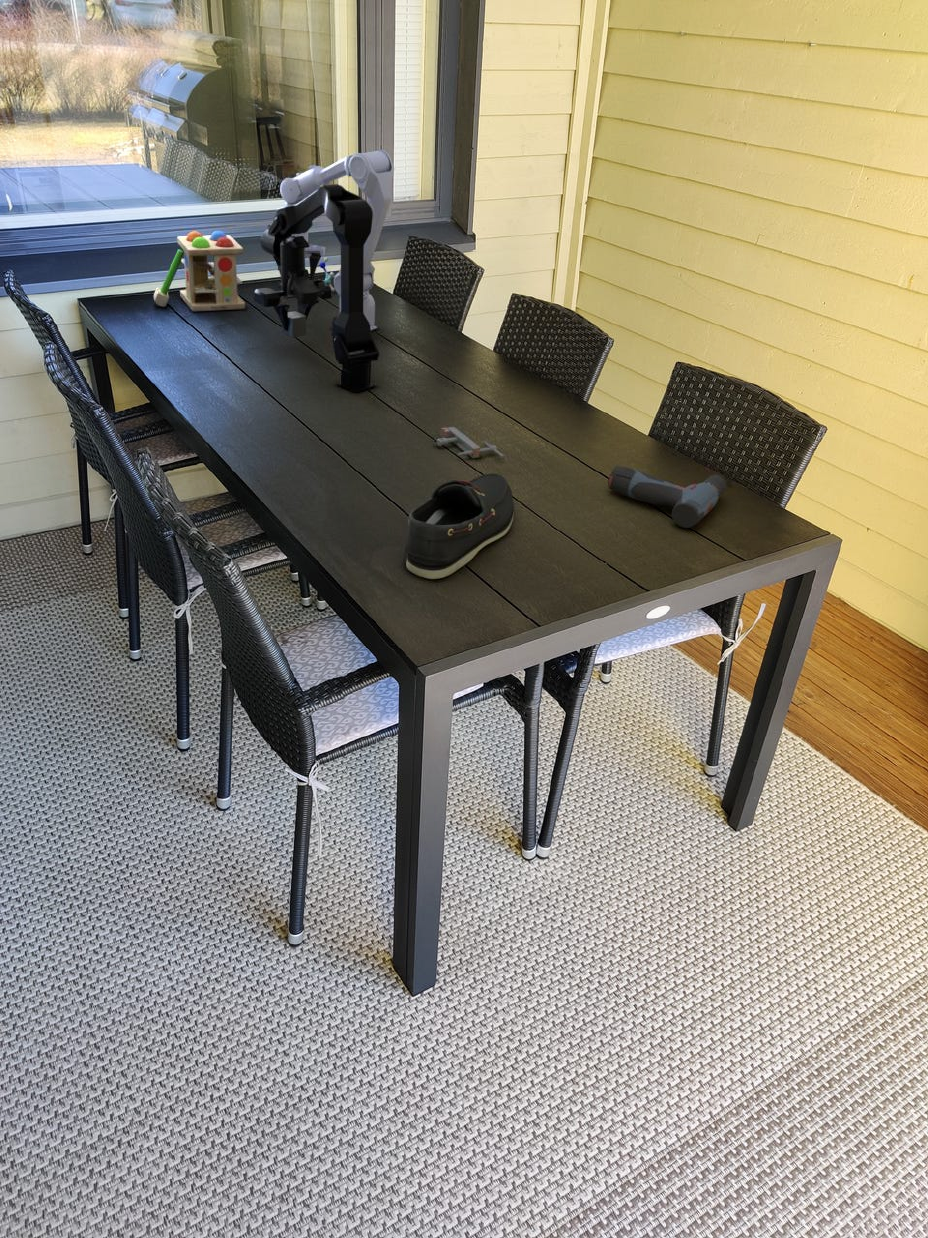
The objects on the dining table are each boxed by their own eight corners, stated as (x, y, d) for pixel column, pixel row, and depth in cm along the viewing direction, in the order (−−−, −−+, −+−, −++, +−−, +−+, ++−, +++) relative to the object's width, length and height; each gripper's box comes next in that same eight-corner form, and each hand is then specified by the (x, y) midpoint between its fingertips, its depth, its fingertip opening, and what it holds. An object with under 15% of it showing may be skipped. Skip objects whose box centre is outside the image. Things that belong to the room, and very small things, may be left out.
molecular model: (344, 283, 280) (333, 248, 279) (317, 296, 284) (305, 261, 282) (361, 286, 290) (350, 252, 289) (334, 298, 294) (323, 265, 293)
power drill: (637, 467, 202) (729, 498, 194) (598, 499, 188) (695, 533, 180) (642, 443, 199) (736, 473, 191) (602, 474, 185) (701, 507, 177)
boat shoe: (539, 516, 182) (544, 464, 176) (440, 585, 158) (443, 528, 152) (480, 497, 187) (483, 446, 182) (376, 561, 163) (376, 505, 158)
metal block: (281, 332, 241) (281, 313, 238) (295, 329, 243) (295, 310, 241) (292, 337, 238) (291, 318, 236) (306, 335, 241) (306, 315, 238)
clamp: (428, 429, 204) (470, 423, 208) (427, 439, 205) (469, 432, 209) (464, 459, 193) (507, 451, 198) (463, 469, 194) (506, 461, 199)
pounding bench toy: (159, 313, 256) (153, 242, 246) (148, 297, 266) (141, 228, 256) (246, 308, 265) (243, 239, 255) (232, 293, 276) (228, 226, 266)
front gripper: (275, 276, 221) (277, 344, 230) (345, 268, 232) (344, 333, 240) (251, 264, 228) (253, 330, 237) (319, 256, 238) (319, 320, 247)
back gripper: (265, 227, 251) (267, 281, 259) (322, 233, 251) (321, 287, 259) (271, 221, 257) (273, 274, 265) (326, 227, 257) (326, 280, 265)
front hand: (293, 329), depth 240 cm, fingers closed on metal block, 4 cm apart
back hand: (297, 280), depth 262 cm, fingers open, 7 cm apart
